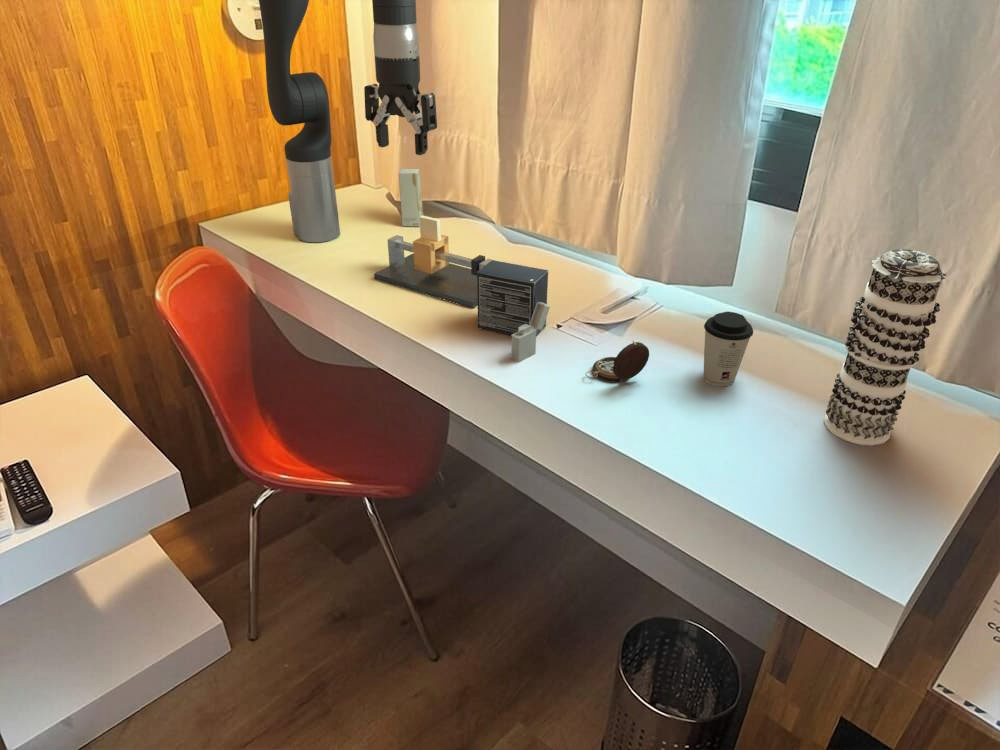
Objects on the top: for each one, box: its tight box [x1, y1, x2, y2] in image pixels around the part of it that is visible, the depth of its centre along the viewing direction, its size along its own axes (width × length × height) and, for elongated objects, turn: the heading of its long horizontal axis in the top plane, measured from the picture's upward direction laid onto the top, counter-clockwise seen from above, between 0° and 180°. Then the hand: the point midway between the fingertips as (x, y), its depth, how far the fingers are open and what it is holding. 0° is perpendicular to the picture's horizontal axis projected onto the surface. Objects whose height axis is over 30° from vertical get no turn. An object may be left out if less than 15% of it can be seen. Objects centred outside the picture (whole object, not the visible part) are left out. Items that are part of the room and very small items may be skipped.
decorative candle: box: [823, 248, 947, 447], centre depth 93 cm, size 9×9×25 cm
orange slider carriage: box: [412, 215, 450, 274], centre depth 136 cm, size 4×6×10 cm
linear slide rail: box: [373, 234, 493, 309], centre depth 137 cm, size 23×12×7 cm, turn 58°
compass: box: [585, 340, 650, 383], centre depth 108 cm, size 8×8×7 cm
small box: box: [476, 259, 549, 337], centre depth 121 cm, size 11×6×10 cm, turn 65°
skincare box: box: [398, 168, 424, 227], centre depth 163 cm, size 6×4×12 cm
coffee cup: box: [702, 311, 754, 387], centre depth 107 cm, size 7×7×10 cm
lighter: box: [510, 302, 551, 363], centre depth 114 cm, size 7×2×8 cm, turn 135°
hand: (402, 150), depth 130 cm, fingers open, 8 cm apart
